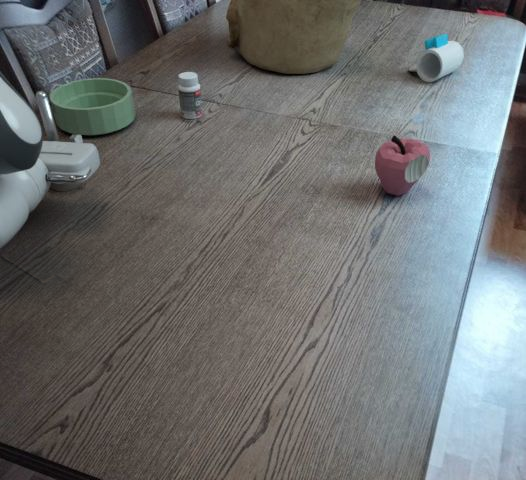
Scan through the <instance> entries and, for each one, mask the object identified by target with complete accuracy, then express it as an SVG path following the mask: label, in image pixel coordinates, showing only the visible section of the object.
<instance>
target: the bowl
mask: <svg viewBox="0 0 526 480" xmlns="http://www.w3.org/2000/svg"><path fill="white" fill-rule="evenodd" d="M133 97H134V96H133V91H132V87H131V86H130V85H129V84H127V82H124V81H121V80H118V79H114V78H107V77H92V78H81V79H78V80H77V79H76V80H73V81H69V82H67V83H63V84H61V85H59V86H57V87H56V88H54V89H53V90H52V91H51V92H50V94H49V103H50V107H51V110H52V114H53V118H54V121H55V125H56V127H58V128H59V129H60V130H62V131H64V132H66V133H69V134H74V135H81V136H101V135H107V134H111V133H114V132H117V131H119V130H121V129H123V128H126V127H128V126H129V125H130V124H131V123H132V122H134V120H135V118H136V109H135V103H134V98H133Z"/></svg>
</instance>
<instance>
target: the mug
mask: <svg viewBox="0 0 526 480" xmlns="http://www.w3.org/2000/svg"><path fill="white" fill-rule="evenodd" d="M424 46H425V47H424V49H425V50H423V51H422V52H421V53H420V54H419V55H418V57H417V60H416V63H415V64H413V65H411V66H410V67H409V68H408V71H409V72H412V73H413V72H414V73H415V72H417V75H418V77H419V78H420V79H421V80H422V81H423V82H426V83H432V82H435V81H437V80H439V79H441V78H443V77H446V76H447V75H449V74H451V73H453V72H455V71H457V70H458V69H459V68H460V67H461V65H462V63H463V61H464V56H465V53H464V49H463V47H462V45H461V44H460V43H459V42H458V41H456V40H449V39H448V33H444V34H441V35H436V36H434V37H431V38H428V39H425V40H424Z"/></svg>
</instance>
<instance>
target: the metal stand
mask: <svg viewBox="0 0 526 480" xmlns="http://www.w3.org/2000/svg"><path fill="white" fill-rule="evenodd" d="M35 99H36V103H37V106H38V110H39V113H40V117H41V120H42V124H43V127H44V130H45V134H46V136H47V141H55V142H61V141H60V137H59V133H58V130H57V125H56V121H55V118H54V114H53V110H52V107H51V103H50V99H49V97H48V95H47V93H46V92H45V91H43V90H37V92H36V93H35ZM81 185H82V183H78V184H66V183H51V184H50V189H51V190H53V191H56V192H68V191H72V190H75V189H77V188H79V187H80V186H81Z"/></svg>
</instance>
